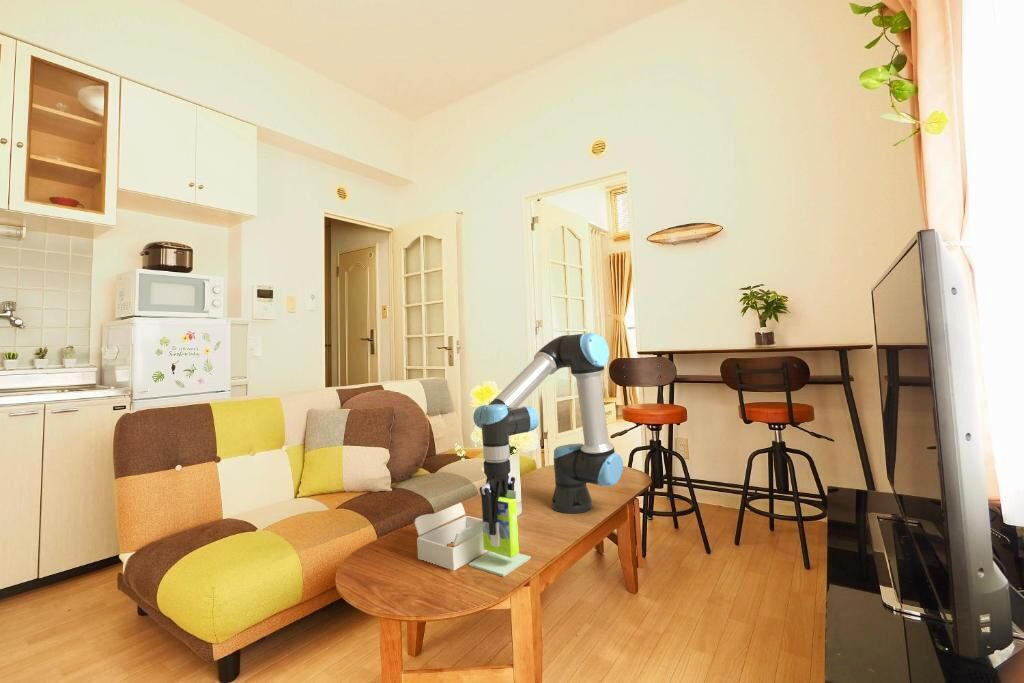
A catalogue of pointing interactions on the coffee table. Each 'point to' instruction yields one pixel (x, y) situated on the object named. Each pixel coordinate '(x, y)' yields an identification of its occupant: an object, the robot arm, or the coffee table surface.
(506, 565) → the mat
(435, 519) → the flap far
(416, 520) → the candle
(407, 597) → the coffee table surface
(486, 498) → the robot arm
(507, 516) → the box
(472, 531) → the flap near
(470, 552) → the white open carton
